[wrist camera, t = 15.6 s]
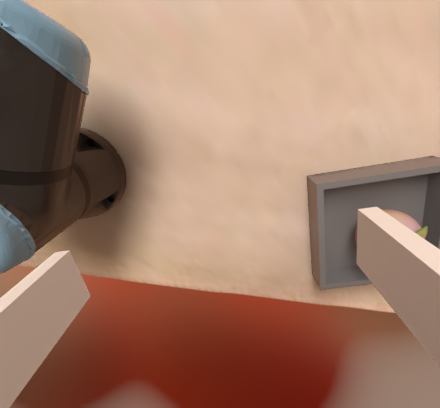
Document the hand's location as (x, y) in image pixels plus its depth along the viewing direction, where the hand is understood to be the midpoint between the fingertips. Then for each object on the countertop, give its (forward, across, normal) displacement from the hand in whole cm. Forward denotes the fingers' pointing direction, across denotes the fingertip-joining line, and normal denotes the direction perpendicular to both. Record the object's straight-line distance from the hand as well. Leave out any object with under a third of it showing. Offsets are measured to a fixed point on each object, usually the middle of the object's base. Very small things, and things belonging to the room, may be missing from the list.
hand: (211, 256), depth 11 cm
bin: (+32, +23, -17) cm, 43 cm away
